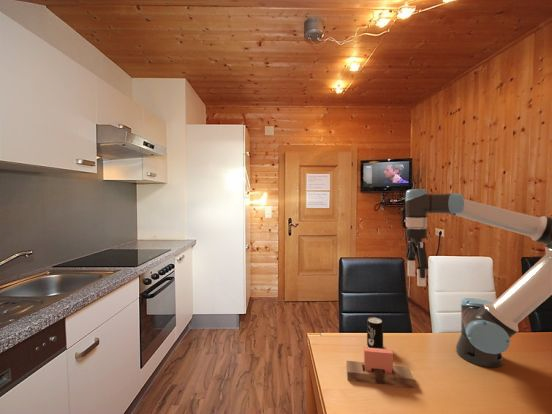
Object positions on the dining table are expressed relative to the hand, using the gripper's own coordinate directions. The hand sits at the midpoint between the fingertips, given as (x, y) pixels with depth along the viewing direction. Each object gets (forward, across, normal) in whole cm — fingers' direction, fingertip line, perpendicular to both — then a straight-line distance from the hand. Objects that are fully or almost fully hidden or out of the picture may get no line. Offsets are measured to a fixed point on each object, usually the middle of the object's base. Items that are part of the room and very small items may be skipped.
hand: (416, 280), depth 109 cm
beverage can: (+32, -6, -15) cm, 36 cm away
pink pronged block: (+32, +15, -17) cm, 39 cm away
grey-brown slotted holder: (+32, +15, -17) cm, 39 cm away
